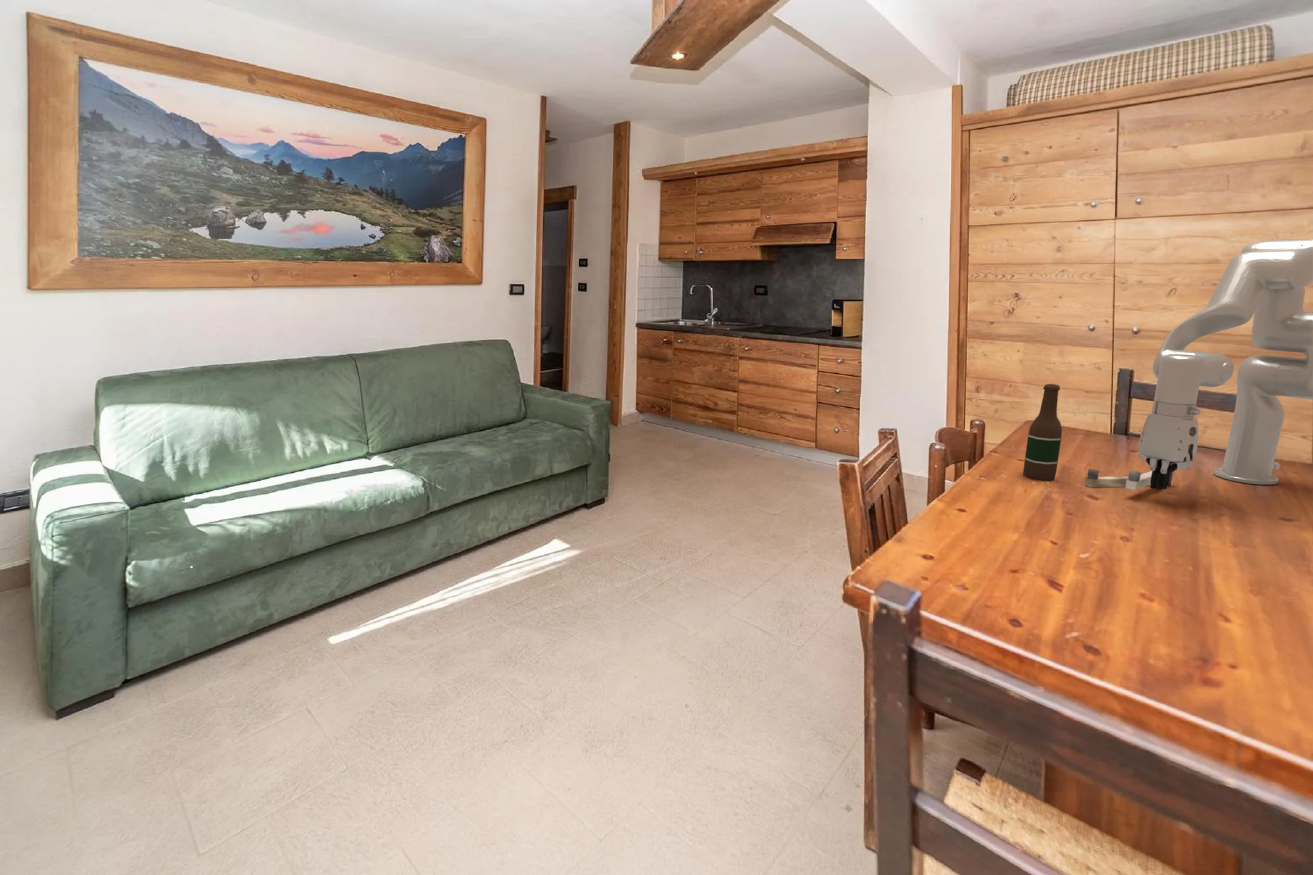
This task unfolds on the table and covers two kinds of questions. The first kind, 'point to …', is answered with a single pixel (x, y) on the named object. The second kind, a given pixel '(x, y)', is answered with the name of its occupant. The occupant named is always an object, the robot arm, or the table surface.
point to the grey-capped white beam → (1108, 480)
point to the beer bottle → (1044, 439)
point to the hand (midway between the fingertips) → (1158, 488)
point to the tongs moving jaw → (1138, 480)
